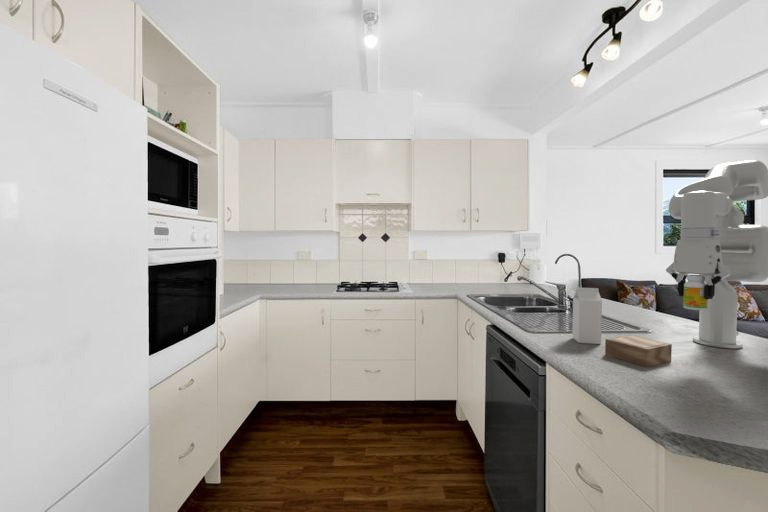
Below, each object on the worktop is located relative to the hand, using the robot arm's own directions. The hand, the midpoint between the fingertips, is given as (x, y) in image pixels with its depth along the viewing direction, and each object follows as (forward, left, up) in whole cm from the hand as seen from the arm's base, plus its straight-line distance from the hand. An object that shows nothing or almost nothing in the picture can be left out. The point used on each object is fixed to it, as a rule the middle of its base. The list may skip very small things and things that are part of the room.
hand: (695, 296), depth 105 cm
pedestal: (+10, -9, -19) cm, 24 cm away
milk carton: (+7, -28, -20) cm, 35 cm away
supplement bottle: (0, 0, -4) cm, 4 cm away
